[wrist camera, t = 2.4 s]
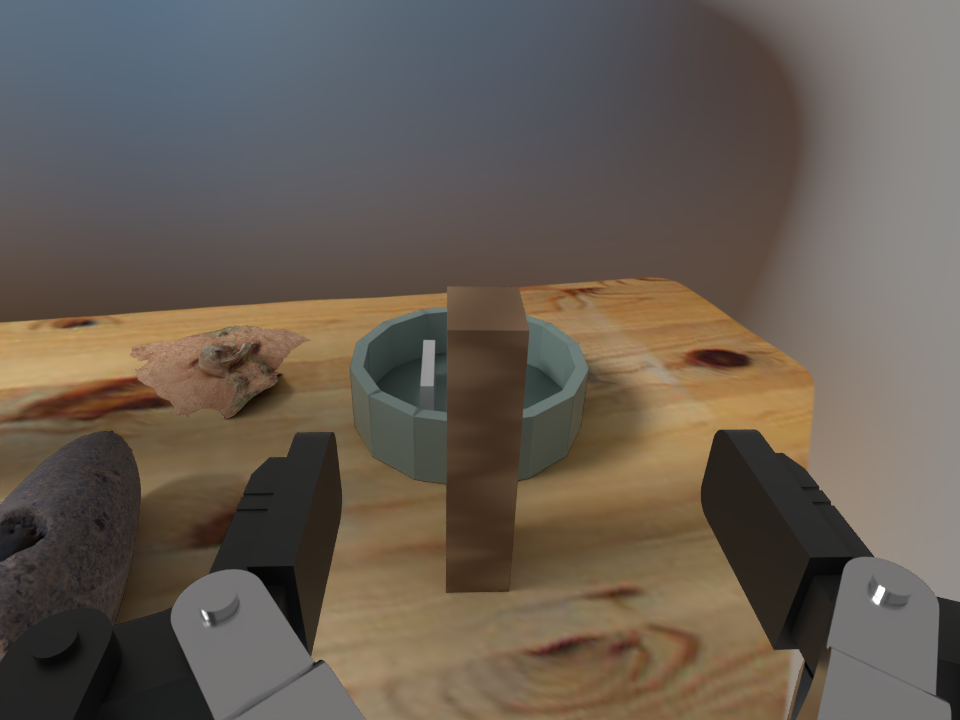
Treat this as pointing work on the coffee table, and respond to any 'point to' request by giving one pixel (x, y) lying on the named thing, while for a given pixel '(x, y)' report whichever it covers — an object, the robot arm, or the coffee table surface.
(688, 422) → the coffee table surface
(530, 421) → the slotted round holder
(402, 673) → the coffee table surface
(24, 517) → the perforated stone tool
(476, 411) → the tall wooden post
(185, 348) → the clay slab
